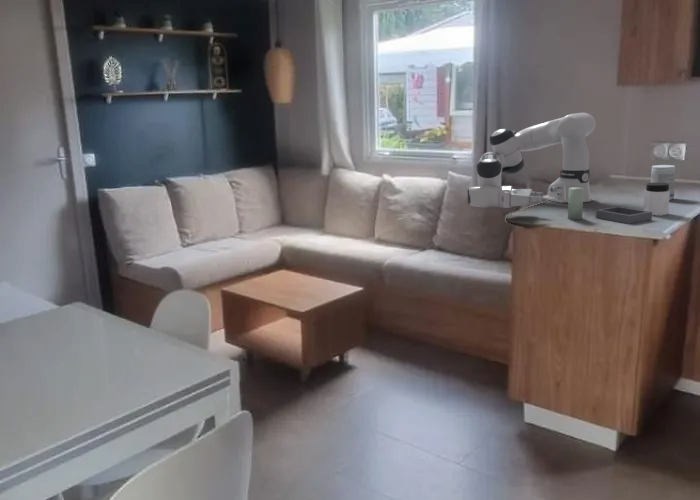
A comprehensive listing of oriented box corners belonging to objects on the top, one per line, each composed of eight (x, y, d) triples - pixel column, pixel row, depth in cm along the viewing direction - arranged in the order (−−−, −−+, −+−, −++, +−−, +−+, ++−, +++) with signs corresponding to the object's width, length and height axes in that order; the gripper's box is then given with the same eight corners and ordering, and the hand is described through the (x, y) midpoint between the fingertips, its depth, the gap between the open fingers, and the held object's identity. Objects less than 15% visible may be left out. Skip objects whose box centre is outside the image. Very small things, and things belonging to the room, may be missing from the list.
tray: (595, 217, 257) (596, 210, 256) (617, 214, 262) (618, 206, 261) (629, 223, 243) (629, 215, 242) (651, 219, 248) (652, 211, 247)
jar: (658, 216, 253) (660, 186, 250) (639, 214, 260) (641, 184, 257) (672, 213, 258) (674, 183, 255) (652, 211, 265) (654, 181, 262)
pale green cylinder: (564, 218, 259) (565, 188, 256) (575, 216, 261) (576, 186, 258) (575, 220, 254) (576, 189, 251) (585, 218, 256) (586, 188, 253)
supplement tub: (678, 198, 289) (680, 165, 285) (666, 201, 284) (668, 167, 280) (657, 196, 297) (659, 164, 293) (645, 199, 291) (647, 166, 288)
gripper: (509, 200, 274) (543, 200, 269) (504, 208, 255) (541, 209, 251) (509, 185, 272) (544, 185, 268) (504, 192, 254) (541, 192, 249)
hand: (542, 196), depth 259 cm, fingers open, 8 cm apart
